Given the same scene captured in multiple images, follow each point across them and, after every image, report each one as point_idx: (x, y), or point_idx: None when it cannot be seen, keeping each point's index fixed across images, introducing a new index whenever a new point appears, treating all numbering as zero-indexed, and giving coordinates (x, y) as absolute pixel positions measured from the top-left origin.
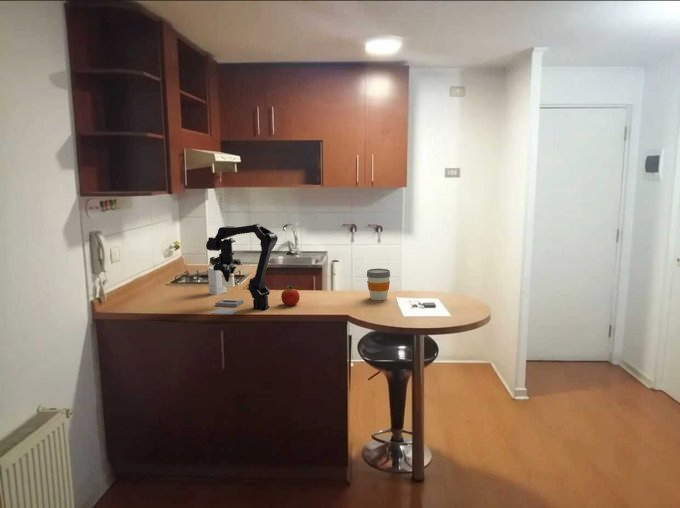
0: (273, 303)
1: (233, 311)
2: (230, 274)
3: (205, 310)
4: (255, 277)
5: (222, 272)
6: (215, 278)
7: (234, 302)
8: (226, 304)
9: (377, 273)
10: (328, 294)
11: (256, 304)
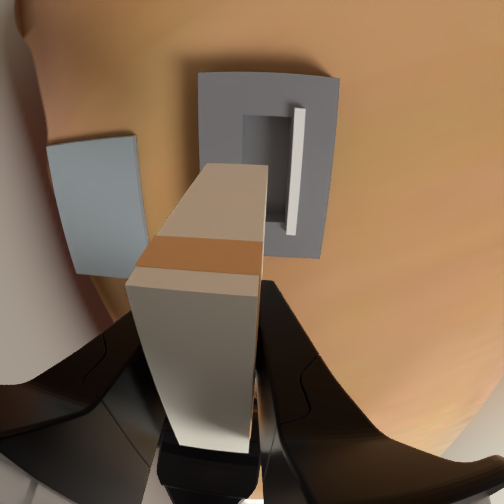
0: (330, 368)
1: (111, 262)
2: (175, 429)
3: (101, 64)
4: (172, 501)
5: (34, 384)
6: None
7: None
8: (201, 170)
9: None
10: (429, 435)
11: None
